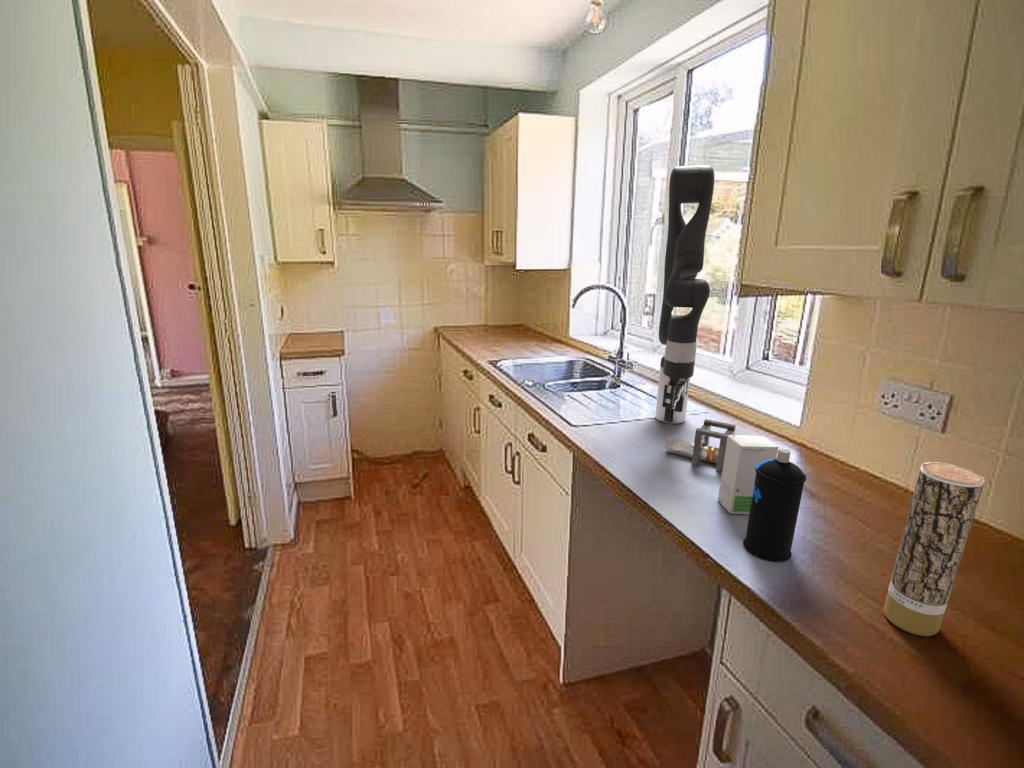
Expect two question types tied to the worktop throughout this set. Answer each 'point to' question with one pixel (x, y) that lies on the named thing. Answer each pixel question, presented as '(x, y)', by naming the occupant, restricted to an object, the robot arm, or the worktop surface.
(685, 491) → the worktop surface
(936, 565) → the paper tube
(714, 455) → the silver cosmetic tube
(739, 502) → the skincare box
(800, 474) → the aerosol can
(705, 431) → the frame
